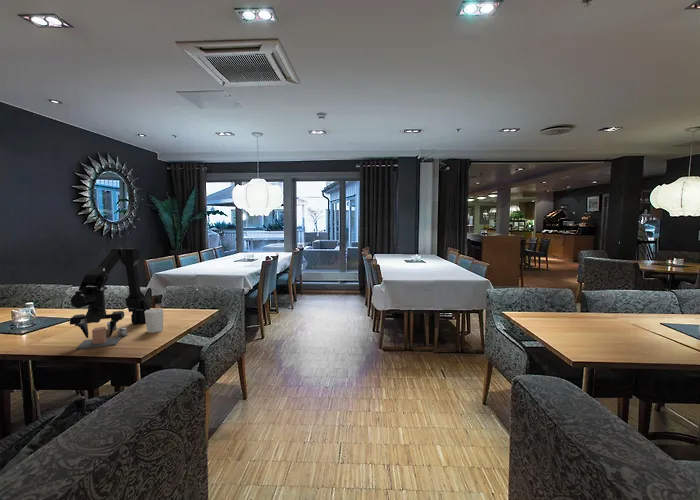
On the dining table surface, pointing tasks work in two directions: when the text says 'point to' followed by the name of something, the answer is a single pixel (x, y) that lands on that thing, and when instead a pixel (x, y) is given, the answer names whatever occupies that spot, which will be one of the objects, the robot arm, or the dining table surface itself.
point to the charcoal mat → (108, 342)
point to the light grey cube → (122, 331)
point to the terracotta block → (99, 335)
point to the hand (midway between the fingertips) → (99, 336)
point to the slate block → (109, 326)
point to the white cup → (154, 320)
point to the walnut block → (108, 333)
